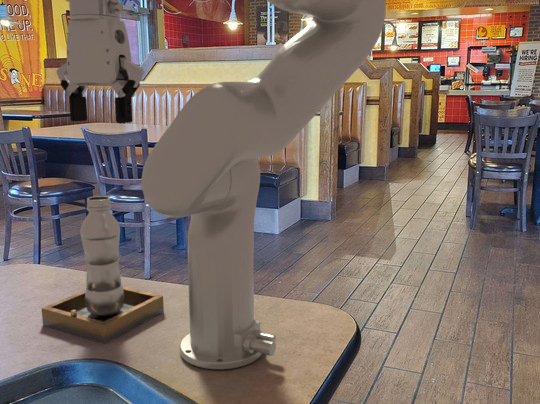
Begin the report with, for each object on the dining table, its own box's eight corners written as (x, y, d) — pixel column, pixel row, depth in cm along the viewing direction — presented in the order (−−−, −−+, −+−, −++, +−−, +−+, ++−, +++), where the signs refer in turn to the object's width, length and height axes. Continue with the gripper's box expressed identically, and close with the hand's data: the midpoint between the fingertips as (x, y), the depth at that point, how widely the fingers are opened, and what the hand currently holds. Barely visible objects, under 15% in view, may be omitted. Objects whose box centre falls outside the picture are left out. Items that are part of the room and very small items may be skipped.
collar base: (163, 311, 94) (162, 291, 94) (104, 343, 82) (103, 320, 82) (105, 297, 101) (104, 278, 100) (42, 325, 89) (41, 303, 88)
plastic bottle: (130, 305, 94) (124, 194, 90) (118, 321, 88) (111, 202, 84) (93, 305, 95) (86, 194, 91) (79, 321, 88) (70, 202, 84)
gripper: (154, 12, 84) (158, 122, 87) (72, 18, 91) (79, 119, 95) (121, 5, 77) (127, 124, 81) (36, 12, 85) (44, 121, 88)
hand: (101, 121), depth 88 cm, fingers open, 9 cm apart
